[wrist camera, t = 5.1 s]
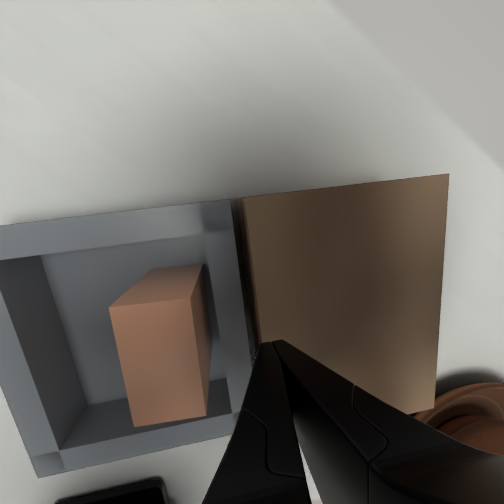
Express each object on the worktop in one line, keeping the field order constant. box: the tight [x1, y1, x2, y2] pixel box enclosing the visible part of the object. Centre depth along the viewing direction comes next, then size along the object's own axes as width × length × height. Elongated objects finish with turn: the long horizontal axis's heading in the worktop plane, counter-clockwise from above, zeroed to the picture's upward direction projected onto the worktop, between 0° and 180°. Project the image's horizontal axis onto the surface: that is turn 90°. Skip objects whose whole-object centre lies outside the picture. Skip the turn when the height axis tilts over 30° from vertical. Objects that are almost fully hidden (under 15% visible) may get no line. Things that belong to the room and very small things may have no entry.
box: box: [0, 199, 252, 478], centre depth 11 cm, size 10×11×3 cm
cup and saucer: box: [413, 382, 504, 455], centre depth 15 cm, size 12×12×6 cm
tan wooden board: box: [237, 174, 449, 414], centre depth 12 cm, size 8×11×4 cm
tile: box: [109, 264, 212, 427], centre depth 10 cm, size 4×4×2 cm
